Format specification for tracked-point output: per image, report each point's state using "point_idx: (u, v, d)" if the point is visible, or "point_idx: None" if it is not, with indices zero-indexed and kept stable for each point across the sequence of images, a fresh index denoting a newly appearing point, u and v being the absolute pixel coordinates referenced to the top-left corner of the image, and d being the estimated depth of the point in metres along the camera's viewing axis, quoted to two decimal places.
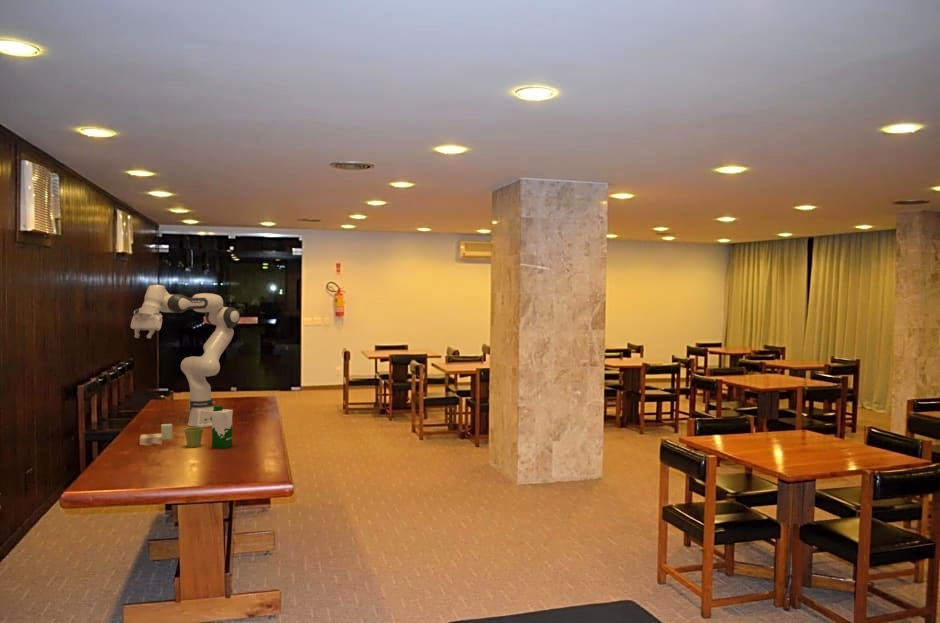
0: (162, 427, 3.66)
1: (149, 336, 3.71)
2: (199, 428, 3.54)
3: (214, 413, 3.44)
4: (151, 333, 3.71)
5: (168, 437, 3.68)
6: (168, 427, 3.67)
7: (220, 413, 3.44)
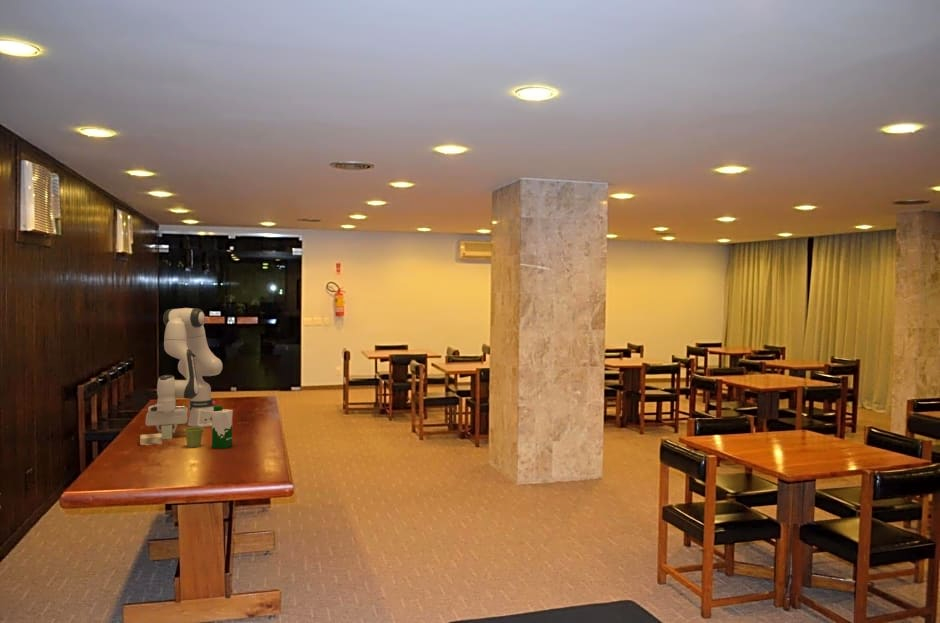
0: (162, 427, 3.66)
1: None
2: (199, 428, 3.54)
3: (214, 413, 3.44)
4: None
5: (168, 437, 3.68)
6: (168, 427, 3.67)
7: (220, 413, 3.44)
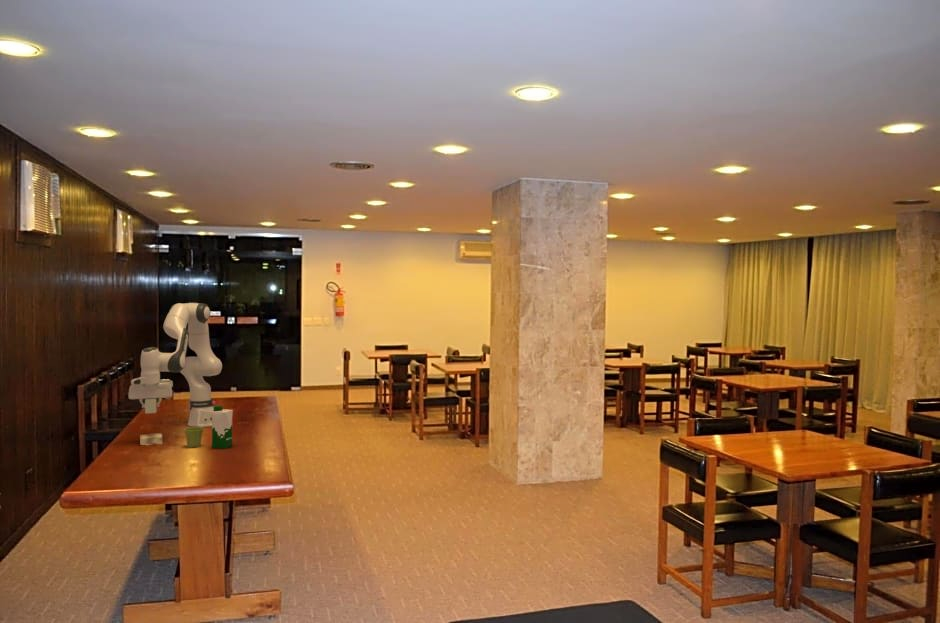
0: (146, 400, 3.54)
1: None
2: (199, 428, 3.54)
3: (214, 413, 3.44)
4: (160, 401, 3.59)
5: (152, 411, 3.55)
6: (152, 401, 3.55)
7: (220, 413, 3.44)
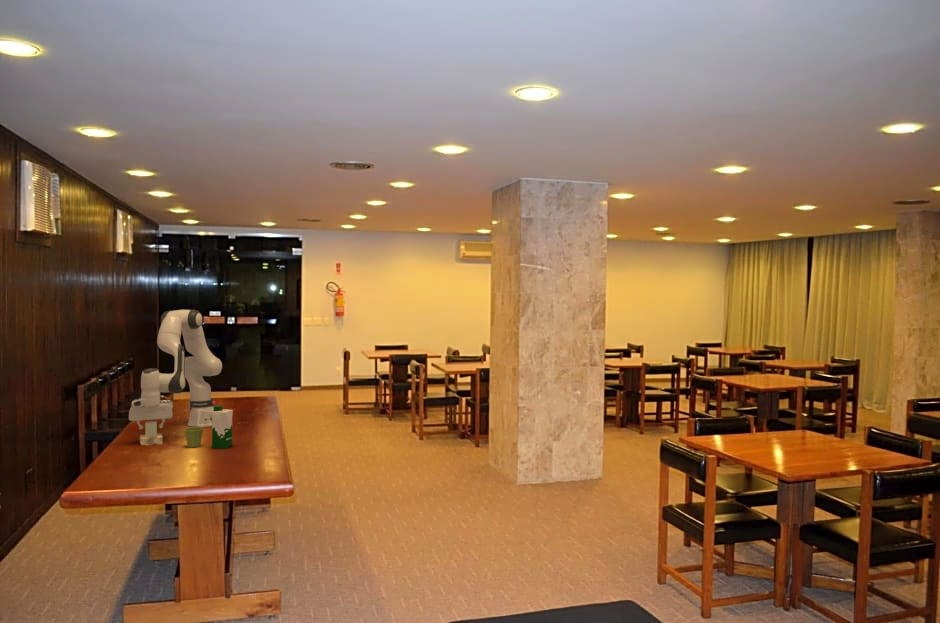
0: (146, 424, 3.55)
1: (162, 426, 3.59)
2: (199, 428, 3.54)
3: (214, 413, 3.44)
4: (163, 422, 3.60)
5: (152, 435, 3.56)
6: (152, 424, 3.56)
7: (220, 413, 3.44)
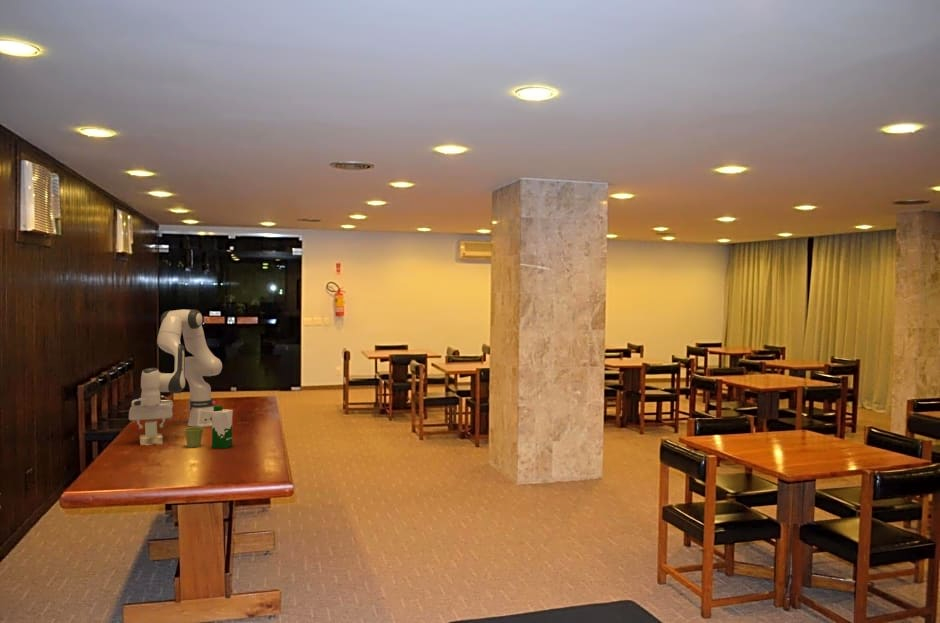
0: (146, 424, 3.55)
1: (162, 425, 3.59)
2: (199, 428, 3.54)
3: (214, 413, 3.44)
4: None
5: (152, 434, 3.56)
6: (152, 424, 3.56)
7: (220, 413, 3.44)
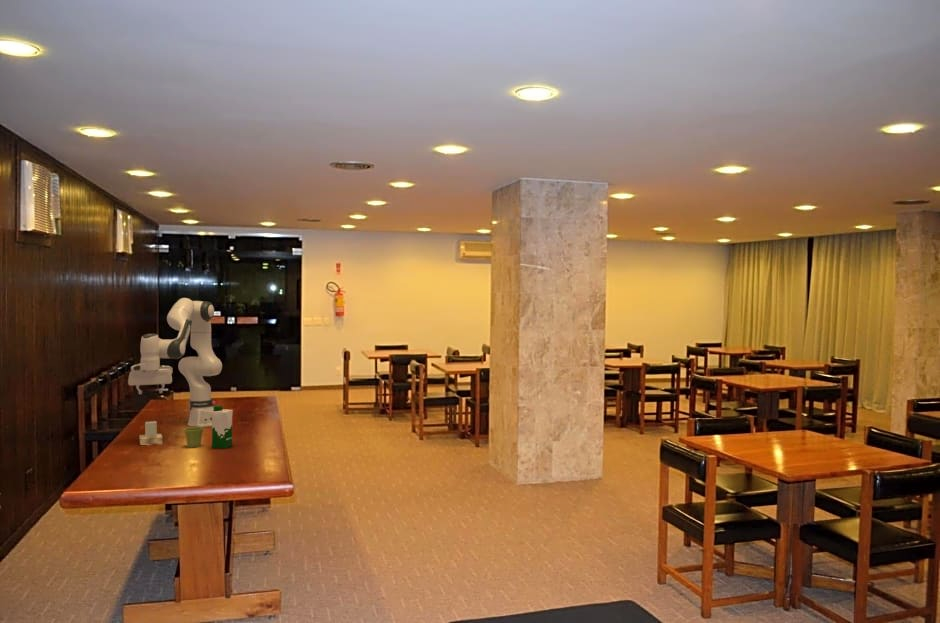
0: (146, 424, 3.54)
1: None
2: (199, 428, 3.54)
3: (214, 413, 3.44)
4: (163, 387, 3.59)
5: (152, 435, 3.56)
6: (152, 424, 3.55)
7: (220, 413, 3.44)
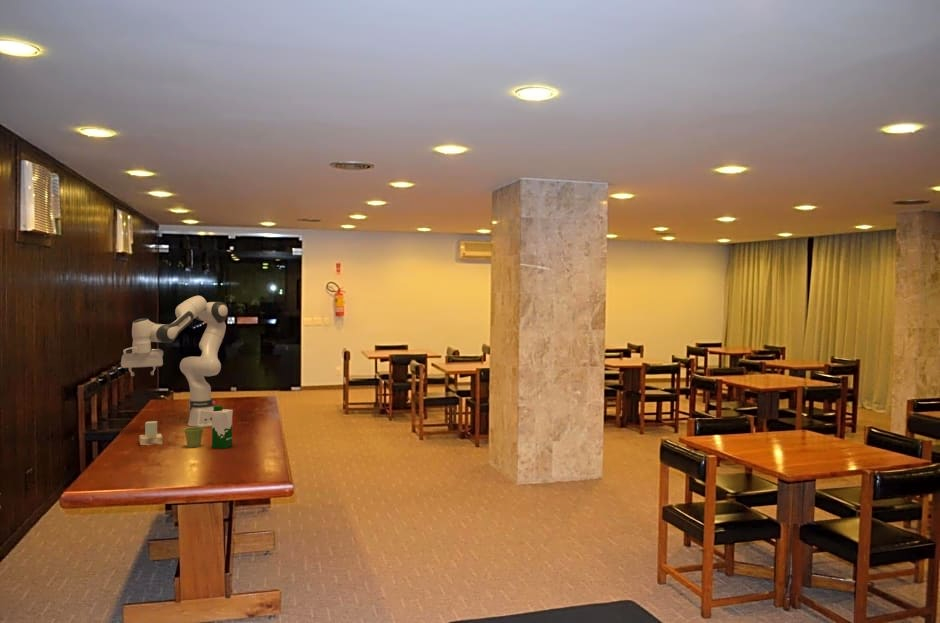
0: (146, 424, 3.54)
1: (153, 373, 3.77)
2: (199, 428, 3.54)
3: (214, 413, 3.44)
4: (154, 369, 3.78)
5: (152, 435, 3.55)
6: (152, 424, 3.55)
7: (220, 413, 3.44)
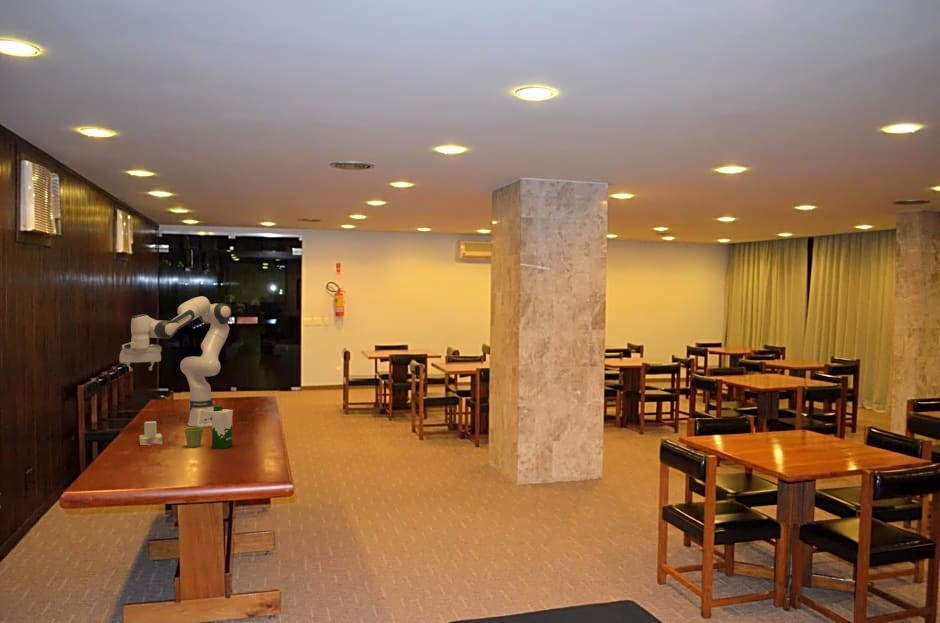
0: (145, 424, 3.54)
1: (151, 368, 3.81)
2: (199, 428, 3.54)
3: (214, 413, 3.45)
4: (152, 365, 3.81)
5: (151, 435, 3.55)
6: (151, 424, 3.55)
7: (220, 413, 3.44)
